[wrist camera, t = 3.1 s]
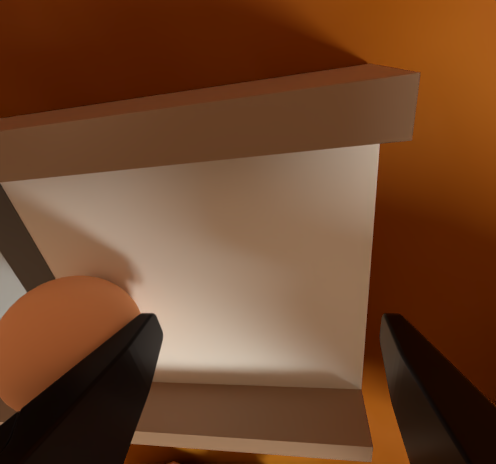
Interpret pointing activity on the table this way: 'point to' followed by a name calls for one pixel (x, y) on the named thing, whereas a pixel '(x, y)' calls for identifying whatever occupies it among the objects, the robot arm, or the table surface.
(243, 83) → the shallow open tray
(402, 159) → the table surface
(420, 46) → the table surface
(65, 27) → the table surface
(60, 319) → the ball
